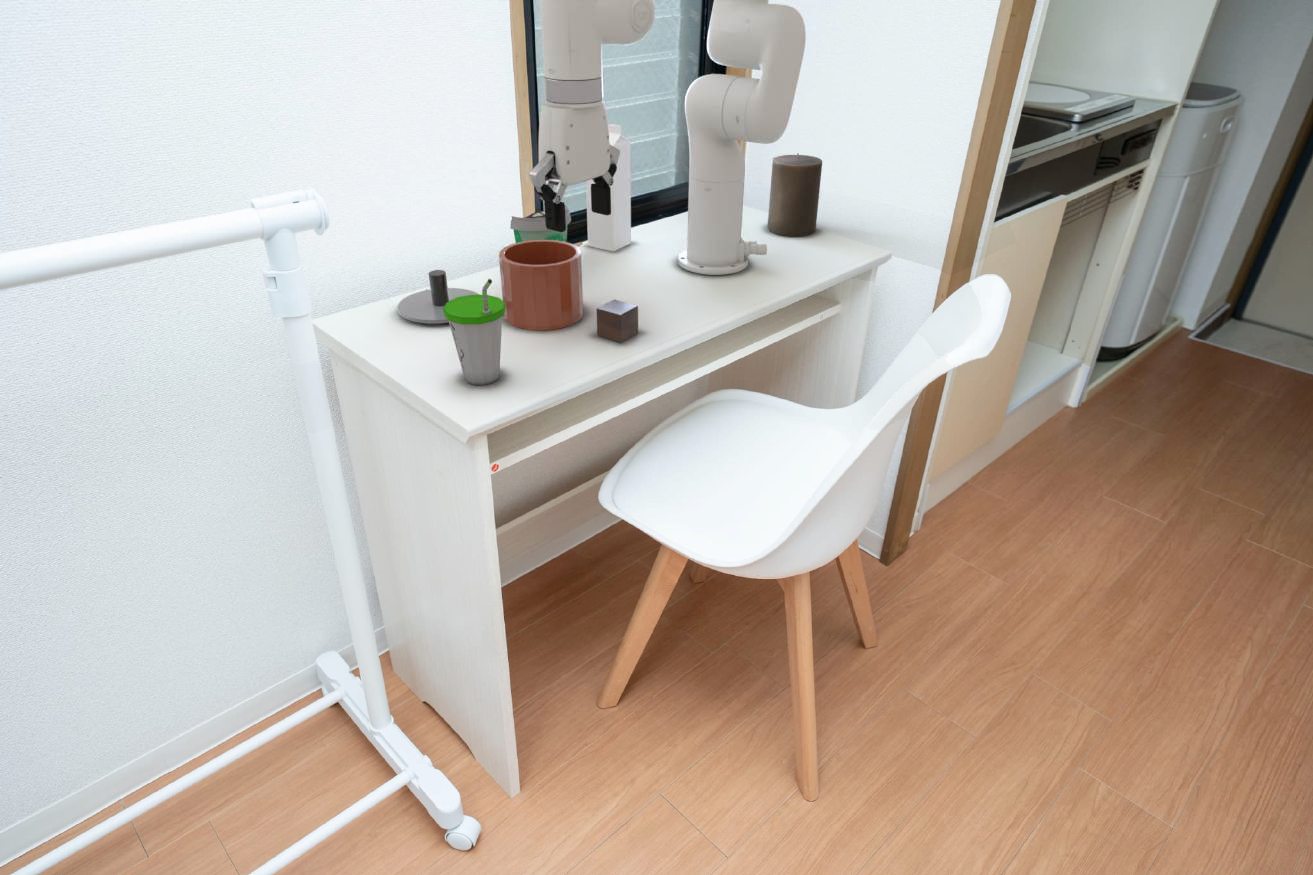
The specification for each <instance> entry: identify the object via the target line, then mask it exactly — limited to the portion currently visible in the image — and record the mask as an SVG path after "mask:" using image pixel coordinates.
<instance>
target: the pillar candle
mask: <svg viewBox="0 0 1313 875" xmlns="http://www.w3.org/2000/svg"><path fill="white" fill-rule="evenodd" d="M822 172H823V160H822V159H821V158H819V157H817V156H813V155H805V154H799V153H798V152H797V154H784V155H778V156H775V157H772V165H771V177H770V190H769V201H768V215H767V216H768V217H767V229H768V231H769V232H770V233H773V234H778V235H781V236H786V237H802V236H803V237H804V236H810V235H812V234H814V233H815V232H816V231H817V230H816V229H817V220H818V211H819V200H820V191H821V190H820V189H821V180H822V179H821V178H822Z"/></svg>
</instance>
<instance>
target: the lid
mask: <svg viewBox="0 0 1313 875" xmlns="http://www.w3.org/2000/svg"><path fill="white" fill-rule="evenodd" d="M428 281H429V287H430V289H425V290H420V291H417V292H414V293H412V294H409V295H407V296H405V297H403V298H402V299H401V300H400V301H399V302H398V304H397V312H398V314H399V315H400V316H401V317H402V318H403V319H406V320H407V321H411V322H415V323H421V324H445V323H446V324H447V323H449V320H448V319H447V318H446V317H445V316H444V312H443V308H444V306H445V304H446V303H447V302H449V301H451V300H453V299H455V298H457V297H462V296H467V295H481V294H480V293H478V292H476V291H473V290H470V289H466V288H459V287H448V280H447V272H446V271H445V270H443V269H434V270H431V271H429V272H428Z"/></svg>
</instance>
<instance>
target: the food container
mask: <svg viewBox="0 0 1313 875" xmlns="http://www.w3.org/2000/svg"><path fill="white" fill-rule="evenodd" d="M565 219H566V230H565V231H564V232H558V231H554V230H550V229H547V228H546V222H545V210H537V211H534V212H532V213H531V214H529V215H527V216H525V217H518V216H513V215H512V216H511V220H510V226H509V228H510V229H511V230H513V235H514V241H515V243H518V242H523V241H530V240H557V241H563V242H568V225H569V224H570V223H571V222H572V217H571V213H570V210H569V209H568V206H567V204H565Z"/></svg>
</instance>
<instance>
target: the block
mask: <svg viewBox="0 0 1313 875" xmlns="http://www.w3.org/2000/svg"><path fill="white" fill-rule="evenodd" d="M637 334H639V305H637V304H633V303H629V302H626V301H622V300H618V299H611V300H610V301H608V302H606V303H604V304H602V305H600V306H598V307H596V335H597V337H598V338H599V337H600V338H603V339H607V340H610V341H613V342H616V343H618V344H619V343H620V344H622V343H624V342H626V341H628V340H629V339H631V338H632V337H634V336H636V335H637Z"/></svg>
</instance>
